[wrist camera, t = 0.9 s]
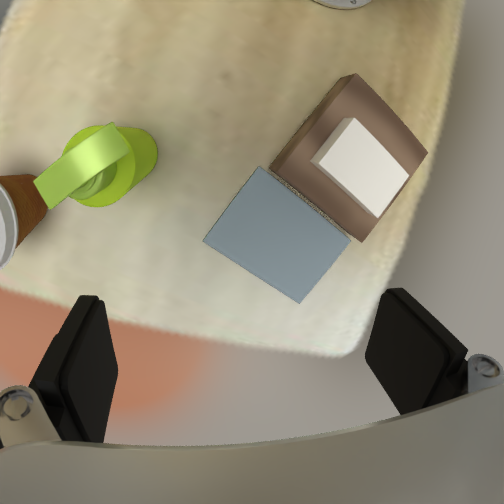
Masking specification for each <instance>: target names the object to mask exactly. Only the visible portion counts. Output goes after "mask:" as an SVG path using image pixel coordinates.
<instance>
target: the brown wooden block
mask: <svg viewBox="0 0 504 504" xmlns="http://www.w3.org/2000/svg"><path fill="white" fill-rule="evenodd" d="M343 118H356V119H357V120H358V121H359V122H360V123H361V124H362V125H363V126H364V127H365V128H366V129H367V130H368V131H369V132H370V133H371V134H372V135H373V136H374V138H375V139H376V140H377V141H378V142H379V143H380V144H381V145H382V146H383V147H384V148H385V149H386V150H387V151H388V152H389V153H390V155H391V156H392V157H393V158H394V159H395V160H396V161H397V162H398V163H399V164H400V166H401V167H402V168H403V169H404V170H405V171H406V172H407V174H408V175H409V177H408V178H407V180H406V181H405V182H404V184H403V185H402V187H401V188H400V189H399V191H398V192H397V193H396V195H395V196H394V197H393V199H392V200H391V202H390V203H389V204H388V206H387V207H386V208H385V210H384V211H383V212H382V214H381V215H380V216H379V218H376V217H375V216H373V215H371V214H369V213H367V212H366V211H365V210H364V209H363V208H362V207H361V206H360V205H359V204H357V203H356V202H355V201H354V200H353V199H352V198H351V197H350V196H349V195H348V194H347V193H346V192H344V191H343V190H342V189H341V188H340V187H339V186H338V185H337V184H336V183H334V182H333V181H332V180H331V179H330V178H329V177H328V176H326V175H325V174H324V173H323V172H322V171H321V170H320V169H318V168H317V167H316V166H315V165H314V164H313V163H311V162H310V160H311V159H312V158H313V157H314V155H315V154H316V153H317V151H318V150H319V149H320V148H321V146H322V145H323V144H324V143H325V141H326V140H327V139H328V137H329V136H330V135H331V134H332V132H333V131H334V130H335V129H336V127H337V126H338V125H339V124H340V122H341V121H342V120H343ZM427 154H428V152H427V150H426V149H425V148H424V147H423V145H422V144H421V143H420V142H419V141H418V139H417V138H416V137H415V136H414V135H413V133H412V132H411V131H410V130H409V129H408V127H407V126H406V125H405V124H404V123H403V122H402V121H401V119H400V118H399V117H398V116H397V115H396V114H395V113H394V112H393V110H392V109H391V108H390V107H389V106H388V105H387V104H386V103H385V102H384V101H383V100H382V99H381V98H380V97H379V96H378V94H377V93H376V92H375V91H374V90H373V89H372V88H371V87H370V86H369V85H368V84H367V83H366V82H365V81H364V80H363V79H362V78H361V77H360V76H359V75H357V74H356V73H355V74H352V75H349V76H346V77H343V78H340V80H339V81H338V82H337V83H336V84H335V86H334V87H333V88H332V89H331V91H330V92H329V93H328V94H327V95H326V97H325V98H324V99H323V100H322V101H321V103H320V104H319V105H318V106H317V108H316V109H315V110H314V111H313V113H312V114H311V115H310V116H309V117H308V119H307V120H306V121H305V122H304V124H303V125H302V126H301V127H300V129H299V130H298V131H297V132H296V134H295V135H294V136H293V137H292V139H291V140H290V141H289V143H288V144H287V145H286V146H285V148H284V149H283V150H282V151H281V153H280V154H279V155H278V156H277V158H276V159H275V160H274V162H273V163H272V164H271V165H270V167H269V169H271V170H272V171H273V172H274V173H276V174H277V175H278V176H279V177H281V178H282V179H283V180H285V181H286V182H287V183H288V184H290V185H291V186H292V187H293V188H295V189H296V190H297V191H298V192H300V193H301V194H302V195H303V196H305V197H306V198H307V199H308V200H309V201H311V202H312V203H313V204H314V205H316V206H317V207H318V208H319V209H320V210H322V211H323V212H324V213H325V214H326V215H328V216H329V217H330V218H331V219H332V220H333V221H335V222H336V223H337V224H338V225H339V226H341V227H342V228H343V229H344V230H345V231H346V232H348V233H349V234H350V235H352V236H353V237H354V238H356V239H357V240H359V241H360V242H361V243H362V242H363V241H364V240H365V238H366V237H367V236H368V235H369V233H370V232H371V231H372V229H373V228H374V227H375V225H376V224H377V223H378V221H379V220H380V219H381V218H382V216H383V215H384V214H385V212H386V211H387V210H388V208H389V207H390V206H391V204H392V203H393V201H394V200H395V199H396V197H397V196H398V195H399V193H400V192H401V191H402V189H403V188H404V186H405V185H406V184H407V182H408V181H409V179H410V178H411V177H412V175H413V174H414V172H415V171H416V170H417V168H418V167H419V165H420V164H421V162H422V161H423V159H424V158H425V157H426V155H427Z"/></svg>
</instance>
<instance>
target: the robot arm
mask: <svg viewBox="0 0 504 504" xmlns="http://www.w3.org/2000/svg"><path fill="white" fill-rule="evenodd" d="M314 1H316V2H318V3H320V4H322V5H325V6H328V7H332V8H337V9H354V8H359V7H361V6H363V5H365V4H367V3H368V2H370V1H371V0H314ZM467 352H468V349H467V348H466V347H465V346H464V345H463V344H462V343H461V342H460V341H459V340H458V339H457V338H456V337H455V336H454V335H453V334H452V333H450V331H448V329H446V328H445V327H444V326H443V325H442V324H441V323H440V322H439V321H438V320H437V319H436V318H435V317H434V316H432V314H431V313H429V311H427V310H426V309H425V308H424V307H423V306H422V305H421V304H420V303H419V302H418V301H417V300H416V299H414V298H413V297H412V296H411V295H410V294H409V293H408V292H407V291H406V290H404V289H403V288H390V289H387V290H386V291H385V293H383V294H382V295H381V298H380V302H379V306H378V310H377V314H376V317H375V321H374V325H373V329H372V332H371V336H370V339H369V342H368V346H367V349H366V352H365V359H366V362H367V364H368V365H369V367H370V368H371V370H372V371H373V373H374V374H375V376H376V377H377V379H378V380H379V382H380V384H381V385H382V386H383V388H384V390H385V391H386V393H387V394H388V396H389V397H390V399H391V401H392V402H393V404H394V405H395V407H396V408H397V410H398V411H399V413H400V416H396V417H393V418H389V419H385V420H381V421H377V422H373V423H369V424H365V425H361V426H356V427H351V428H347V429H342V430H337V431H332V432H326V433H321V434H315V435H309V436H302V437H295V438H289V439H281V440H273V441H263V442H254V443H241V444H228V445H206V446H145V445H123V444H109V443H108V444H107V443H103V442H104V436H105V431H106V426H107V421H108V416H109V412H110V407H111V402H112V398H113V393H114V389H115V385H116V381H117V376H118V365H117V361H116V357H115V352H114V348H113V344H112V339H111V334H110V329H109V324H108V319H107V314H106V308H105V303H104V301H103V300H99V298H98V296H91V295H80V296H79V298H78V299H77V301H76V303H75V305H74V306H73V308H72V310H71V311H70V313H69V315H68V317H67V318H66V320H65V322H64V324H63V325H62V328H61V329H60V331H59V333H58V334H56V335H55V337H54V338H53V340H52V342H51V344H50V345H49V347H48V349H47V351H46V353H45V355H44V357H43V358H42V361H41V362H40V364H39V366H38V368H37V370H36V372H35V374H34V376H33V378H32V380H31V382H30V384H29V386H28V387H26V386H22V385H19V386H17V385H15V386H11V387H8V388H6V389H4V390H2V391H1V392H0V504H504V371H503V368H502V366H501V365H500V364H499V362H497V361H496V360H495V359H493V358H492V357H490V356H487V355H484V354H475V355H472V356H471V357H470V358H469V359H468V361H466V360H465V359H464V358H465V356H466V354H467Z"/></svg>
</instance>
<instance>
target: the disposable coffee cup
mask: <svg viewBox="0 0 504 504" xmlns="http://www.w3.org/2000/svg"><path fill="white" fill-rule="evenodd" d="M36 178H37V177H35V176H33V175H29V174H25V175H9V176H0V270H1V269H2V268H4V267H5V266H6V265H7V264H8V263H9V261H10V259H11V258H12V256H13V254H14V251H15V249H16V248H17V246H18V245H19V244H20V243H21V242H22V241H23V240H24V238H25V237H26V236H27V235H28V234H29V233H30V232H31V231H32V229H33V228H34V227H35V226H36V225H37V224H38V223H39V222H40V221H41V220H42V219H43V218H44V216H45V214H46V211H47V208H48V206H47V204H46V203H45V201H44V199H43V198H42V196H41V194H40V193H39V191H38V189H37V187H36V186H35V184H34V182H33V181H34V180H35V179H36Z"/></svg>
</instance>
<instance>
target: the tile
mask: <svg viewBox="0 0 504 504" xmlns="http://www.w3.org/2000/svg"><path fill="white" fill-rule="evenodd" d="M310 162H311V163H313V164H314V165H315V166H316V167H317V168H318V169H320V170H321V171H322V172H323V173H324V174H325V175H326V176H328V177H329V178H330V179H331V180H332V181H333V182H334V183H336V184H337V185H338V186H339V187H340V188H341V189H342V190H343V191H344V192H346V193H347V194H348V195H349V196H350V197H351V198H352V199H353V200H354V201H355V202H356V203H357V204H359V205H360V206H361V207H362V208H363V209H364V210H365V211H366V212H367V213H369V214H371V215H373V216H375V217H376V218H379V216H380V215H381V214H382V212H383V211H384V210H385V208H386V207H387V206H388V204H389V203H390V202H391V200H392V199H393V197H394V196H395V195H396V193H397V192H398V191H399V189H400V188H401V187H402V185H403V184H404V182H405V181H406V180H407V178H408V177H409V175H408V174H407V172H406V171H405V170H404V169H403V168H402V167H401V166H400V164H399V163H398V162H397V161H396V160H395V159H394V158H393V157H392V156H391V155H390V153H389V152H388V151H387V150H386V149H385V148H384V147H383V146H382V145H381V144H380V143H379V142H378V141H377V140H376V139H375V138H374V136H373V135H372V134H371V133H370V132H369V131H368V130H367V129H366V128H365V127H364V126H363V125H362V124H361V123H360V122H359V121H358V120H357V119H356V118H343V120H342V121H341V122H340V124H339V125H338V126H337V127H336V129H335V130H334V131H333V132H332V134H331V135H330V136H329V137H328V139H327V140H326V141H325V143H324V144H323V145H322V146H321V148H320V149H319V150H318V151H317V153H316V154H315V155H314V157H313V158H312V159H311V160H310Z"/></svg>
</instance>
